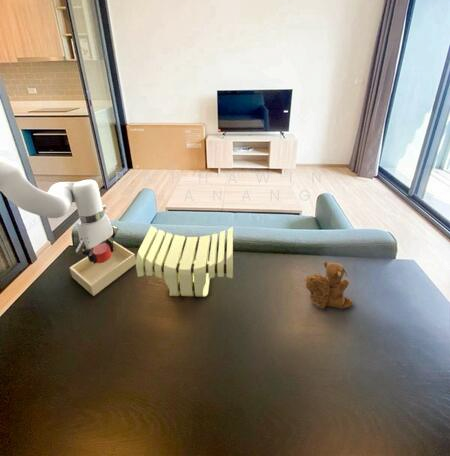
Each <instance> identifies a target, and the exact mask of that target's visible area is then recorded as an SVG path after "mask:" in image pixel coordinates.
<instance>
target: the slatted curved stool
mask: <svg viewBox="0 0 450 456" xmlns="http://www.w3.org/2000/svg"><path fill="white" fill-rule="evenodd" d="M218 235H219V239H218ZM226 235H227V236H226ZM198 238H199V240H198ZM185 240H186V241H185ZM225 245H226V247H225ZM217 248H218V249H217ZM225 249H226V261H225ZM217 251H218V252H217ZM233 253H234V227H233V226H231V227H229V228H227V233H226V229H224V230H222V231H220V232H219V233H218V232H216V233H212V235H211V234H207V235H200V236H199V237H198V236H187V237H186V236H185V235H179V234H174V236H173V233H171V232H166V233H165V231H164V230H162V229H157V227H155V226H152V225H150V227H149V229H148V231H147V233H146V235H145V237H144V239H143V241H142V243H141V244H140V246H139V249H138V251H137V253H136V256H135V258H136V264H135V269H136V273H137V274H136V275H137V277H138V278H140V277H145V275H146V277H149V276H150V277H153V276H154V277H156V278H159V279H162V278H163V279H164V283H165V285H166V286H167V289H168V290H169V296H170V297H180V296H181V297H194V296H195V297H207V296H208V294H209V290H210V289H209V288H210V280H211V279H214V278H215V277H216V274H217V277H218V278H224V277H225V274H226V278H229V279H234V272H233V271H234V266H233V265H234V261H233V260H234V255H233ZM225 262H226V263H225Z"/></svg>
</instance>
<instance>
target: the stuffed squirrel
mask: <svg viewBox="0 0 450 456" xmlns="http://www.w3.org/2000/svg"><path fill="white" fill-rule="evenodd" d="M322 263H323V266H324V268H325V271H326V272H325V276H323V275H322V274H320V273H315V274H314V275H313V274H311V275H306V278H305V279H304V281H305V287H306V289H307V290H308V291H309V293H310V294H309V296H310V299H311V301H312V302H313V304H314V305H315V306H316V307H317V308H318V309H325V307H332V308H335V309H341V310H342V309H346V308H349V307H351V306H352V305H353V300H352V299H351V298H350V297H347V296H344V292H345V290H346V289H348V286H349V285H350V282H349V279H347V278H343V277H344V275H345V276H346V277H349V275H348V273H347V271H346V270H345V268H344V266H343V265H342V264H341V263H339V262H328V261H327V260H324V261H323V262H322Z"/></svg>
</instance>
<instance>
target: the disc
mask: <svg viewBox="0 0 450 456" xmlns="http://www.w3.org/2000/svg"><path fill="white" fill-rule="evenodd" d="M93 253H94V254H95V258H96V261H97V262H96V263H103V262H105V261H107V260H109V259H110V257H111V250H110V246H109V244H107V243H106V242H101V243H100V244H98V245H96V246H95V247H94V249H93Z"/></svg>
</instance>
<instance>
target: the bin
mask: <svg viewBox="0 0 450 456" xmlns="http://www.w3.org/2000/svg"><path fill="white" fill-rule="evenodd" d="M113 250H114V251H113V252H111V257H110V259H109V260H107V261H105V262H103V263H95V264H94V263H93V262H90V261H89V259H88V255H86V256H85V257H84V258H82V259H81V260H79V261H78V262H76V263H74V264H73V265H71V266H69V271H70V274H71V278H72V279H73V280H75V281H76V282H77V283H78V284H79V285H80V286H81V287H83V288H84V289H85V290H86V291H87V292H88V293H89V294H90V295H92V297H95V296H96V295H97V294H99V293H100V292H101V291H102V290H104V289H105V288H106V287H108V286H109V285H110V284H112V283H113V282H114V281H115V280H117V279H118V278H119V277H121V276H122V275H123V274H124V273H126V272H127V271H129V269H132V267H134V266H136V254H135V253H134V252H132V251H130V250H129V249H128V248H126V247H124V246H123V245H121V244H119V243H117V242H116V241H115V240H114V241H113Z"/></svg>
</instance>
